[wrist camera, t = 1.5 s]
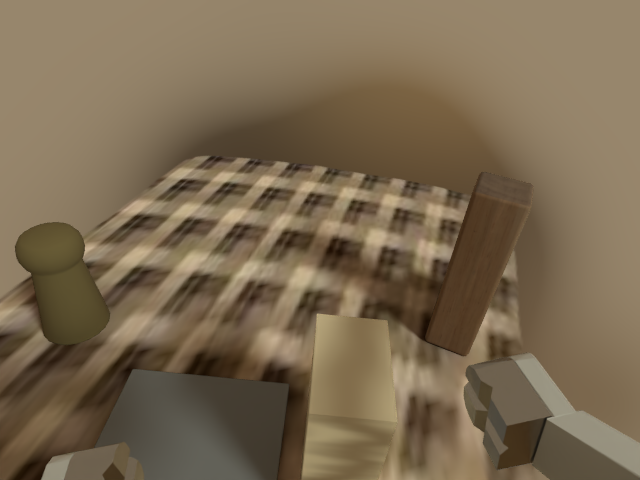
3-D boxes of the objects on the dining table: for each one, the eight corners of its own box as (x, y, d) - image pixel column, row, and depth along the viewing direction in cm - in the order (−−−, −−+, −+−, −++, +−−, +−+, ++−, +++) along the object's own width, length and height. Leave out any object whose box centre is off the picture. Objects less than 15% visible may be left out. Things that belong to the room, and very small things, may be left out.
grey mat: (26, 597, 26) (22, 592, 25) (134, 374, 39) (132, 368, 38) (258, 619, 26) (258, 615, 25) (288, 389, 39) (289, 383, 38)
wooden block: (441, 290, 51) (488, 151, 41) (479, 304, 50) (537, 163, 40) (423, 341, 45) (472, 190, 34) (466, 358, 43) (532, 206, 33)
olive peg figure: (112, 334, 42) (85, 245, 36) (41, 352, 40) (-1, 260, 34) (108, 294, 47) (83, 208, 40) (43, 308, 44) (6, 219, 38)
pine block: (296, 528, 30) (308, 413, 22) (304, 433, 36) (317, 313, 27) (360, 534, 30) (397, 422, 22) (358, 438, 36) (387, 320, 27)
